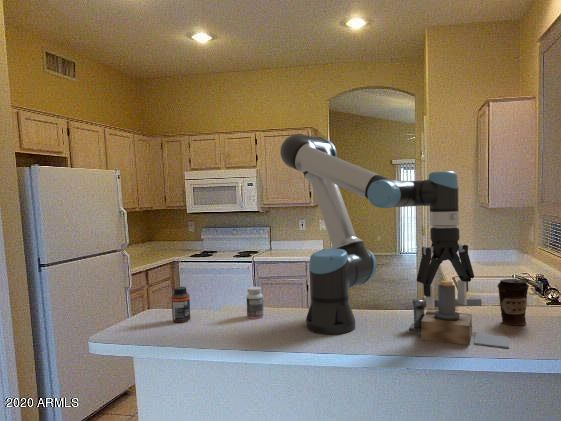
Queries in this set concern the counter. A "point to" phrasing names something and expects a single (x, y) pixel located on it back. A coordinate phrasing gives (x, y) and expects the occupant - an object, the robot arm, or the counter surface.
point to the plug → (446, 302)
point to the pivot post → (417, 319)
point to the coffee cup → (513, 301)
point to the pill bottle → (255, 303)
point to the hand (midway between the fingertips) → (446, 305)
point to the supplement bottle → (180, 305)
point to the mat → (491, 340)
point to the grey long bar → (422, 302)
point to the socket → (447, 328)
